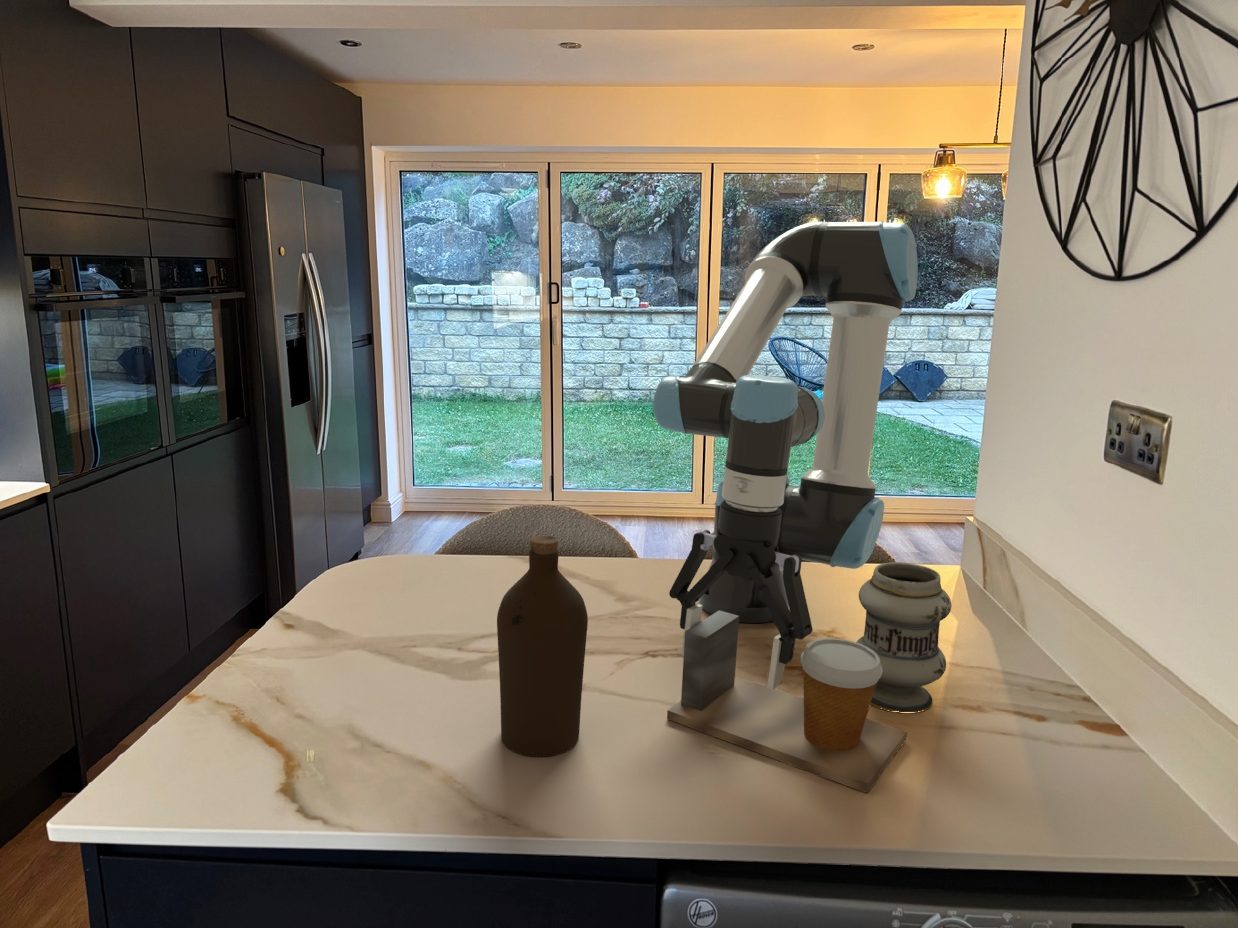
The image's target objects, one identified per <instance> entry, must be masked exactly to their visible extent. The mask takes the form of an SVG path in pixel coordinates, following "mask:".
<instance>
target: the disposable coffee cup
mask: <svg viewBox="0 0 1238 928" xmlns="http://www.w3.org/2000/svg"><path fill="white" fill-rule="evenodd" d="M856 642H857V641H856ZM856 642H855V641H852V640H847V639H842V638H835V637H828V638H826V637H822V638H817V639H814V640H811V641H810V642H808V643H807V644H806V646H805V648H804V651H802V652H801V654H800V660H799V661H800V663H801V666H802V669H803V671H802V672H803V673H802V674H803V676H802V677H803V698H804V735H805V737H806V738H807V740H808V741H810V742H811V743H812V744H814V745H816V746H818V747H821V748H824V749H828V750H834V751H844V750H850V749H853V748H855V747H856V746H857V745H858V744H859V740H860V737H861V734H862V730H863V727H864V723H865V720H866V719H867V716H868V713H869V709H870V707H871V704H870V703H871V699H872V696H873V692H874V689H875V686H876V683H877V682H878V680H879V678H881V675H882V673H883V669H882V667H881V665H880V659H879V657H878V655H877V654H876V653H875V652H874V651H873V650H871V649H870V648H868V647H866V646H864V645H862V644H859V643H856Z"/></svg>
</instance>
